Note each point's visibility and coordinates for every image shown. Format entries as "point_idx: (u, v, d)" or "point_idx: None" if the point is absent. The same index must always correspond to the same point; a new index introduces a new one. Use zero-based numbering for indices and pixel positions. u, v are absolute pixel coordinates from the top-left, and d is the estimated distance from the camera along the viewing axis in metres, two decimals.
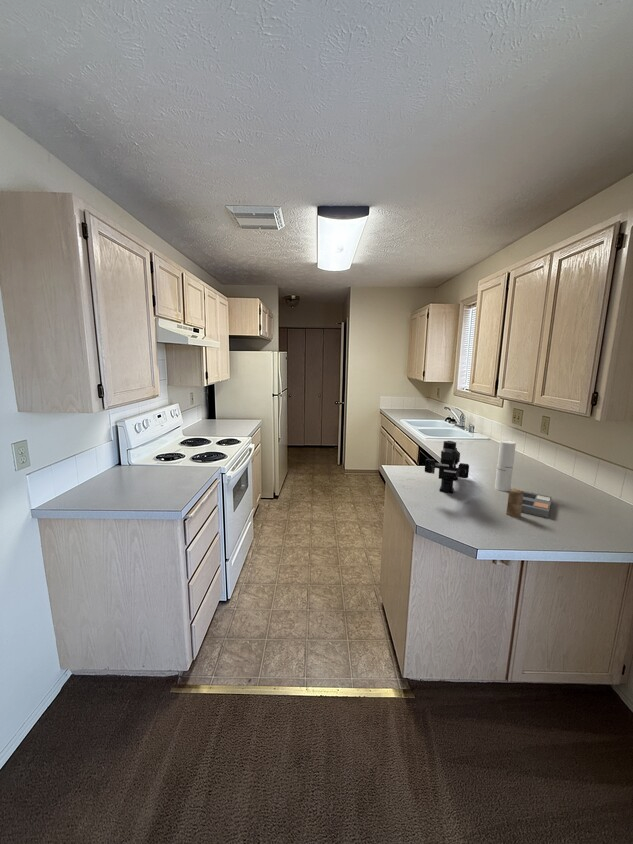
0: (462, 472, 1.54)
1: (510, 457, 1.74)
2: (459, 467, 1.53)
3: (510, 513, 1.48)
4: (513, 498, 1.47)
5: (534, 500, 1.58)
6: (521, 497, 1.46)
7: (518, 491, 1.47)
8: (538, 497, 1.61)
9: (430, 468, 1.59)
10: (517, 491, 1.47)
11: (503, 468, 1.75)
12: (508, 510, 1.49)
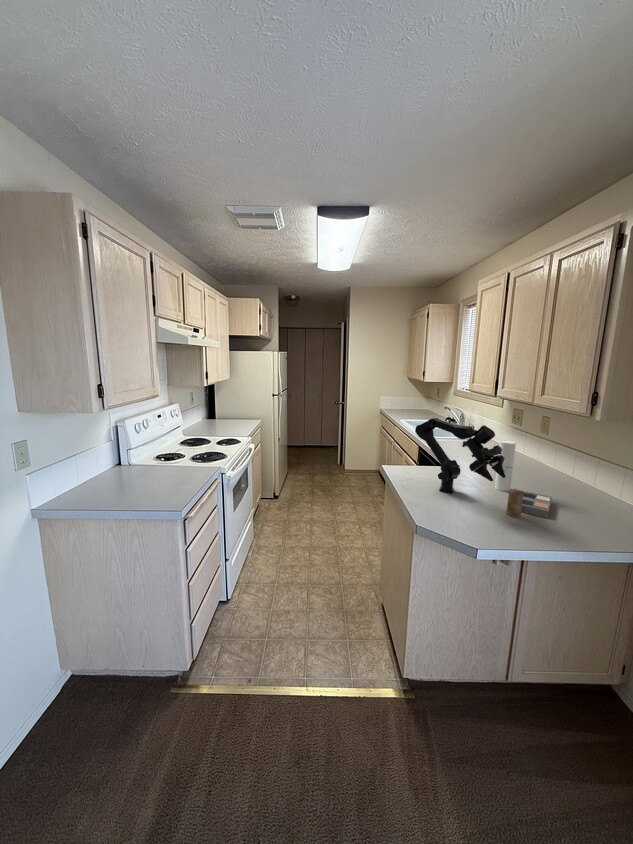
0: None
1: (510, 457, 1.74)
2: (501, 464, 1.57)
3: (510, 513, 1.48)
4: (513, 498, 1.47)
5: (534, 500, 1.58)
6: (521, 497, 1.46)
7: (518, 491, 1.47)
8: (538, 497, 1.61)
9: (479, 469, 1.53)
10: (517, 491, 1.47)
11: (503, 468, 1.75)
12: (508, 510, 1.49)
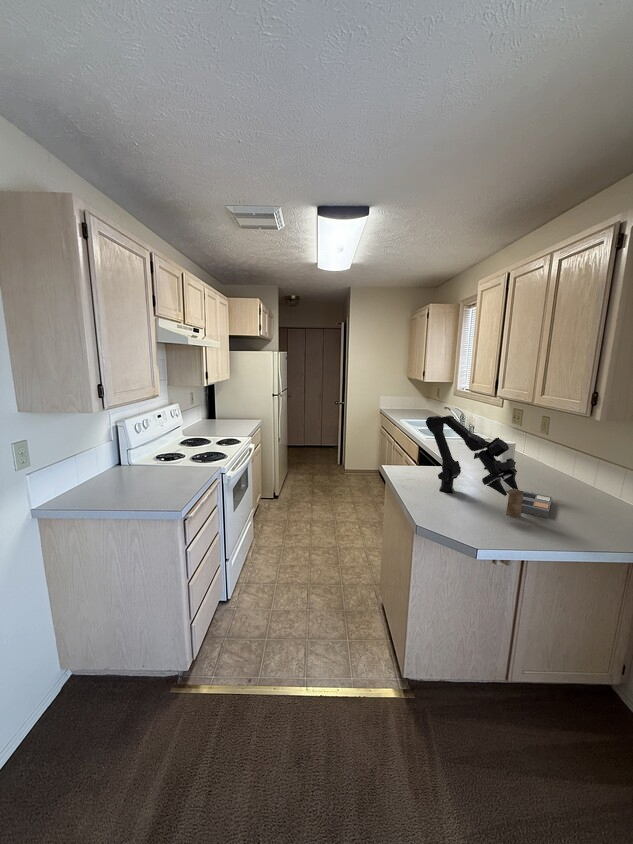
0: None
1: (510, 457, 1.74)
2: (513, 477, 1.53)
3: (510, 513, 1.48)
4: (513, 498, 1.47)
5: (534, 500, 1.58)
6: (521, 497, 1.46)
7: (518, 491, 1.47)
8: (538, 497, 1.61)
9: (492, 483, 1.49)
10: (517, 491, 1.47)
11: None
12: (508, 510, 1.49)
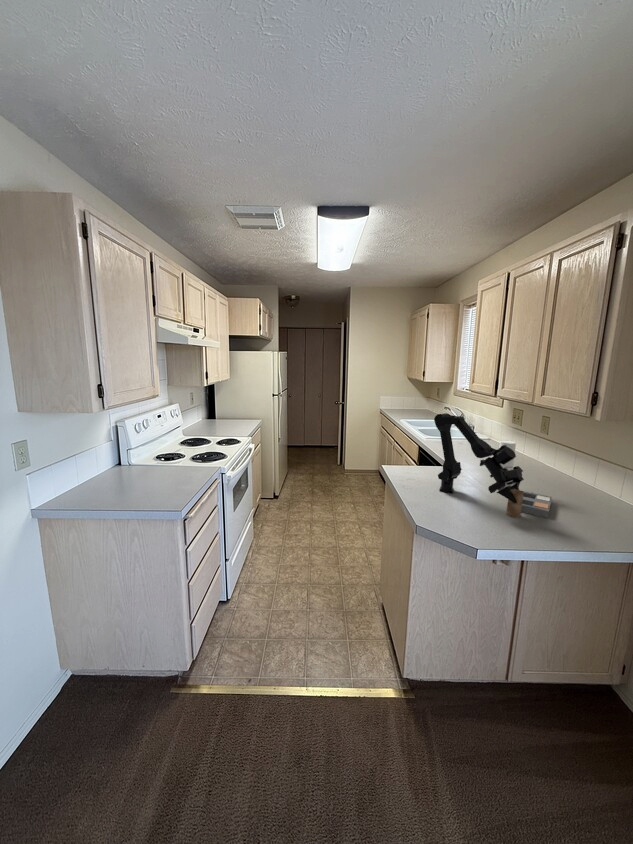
0: None
1: None
2: (517, 486, 1.50)
3: (510, 513, 1.48)
4: None
5: (534, 500, 1.58)
6: (521, 497, 1.46)
7: (518, 491, 1.47)
8: (538, 497, 1.61)
9: (502, 490, 1.48)
10: (517, 491, 1.47)
11: None
12: (508, 510, 1.49)
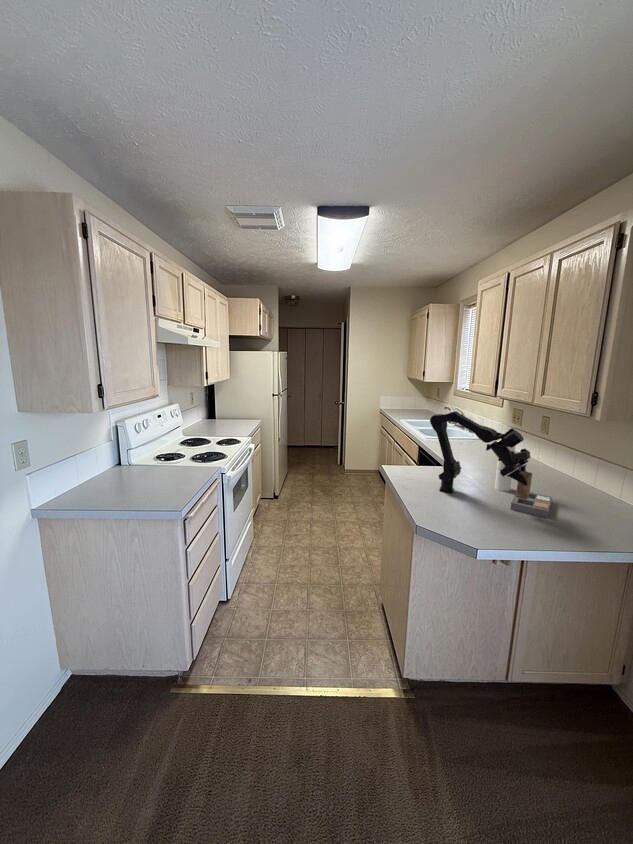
0: None
1: None
2: (524, 468, 1.52)
3: (520, 495, 1.50)
4: None
5: (534, 500, 1.58)
6: (530, 479, 1.49)
7: (527, 473, 1.49)
8: (538, 497, 1.61)
9: (513, 473, 1.49)
10: (526, 473, 1.49)
11: None
12: (518, 493, 1.50)
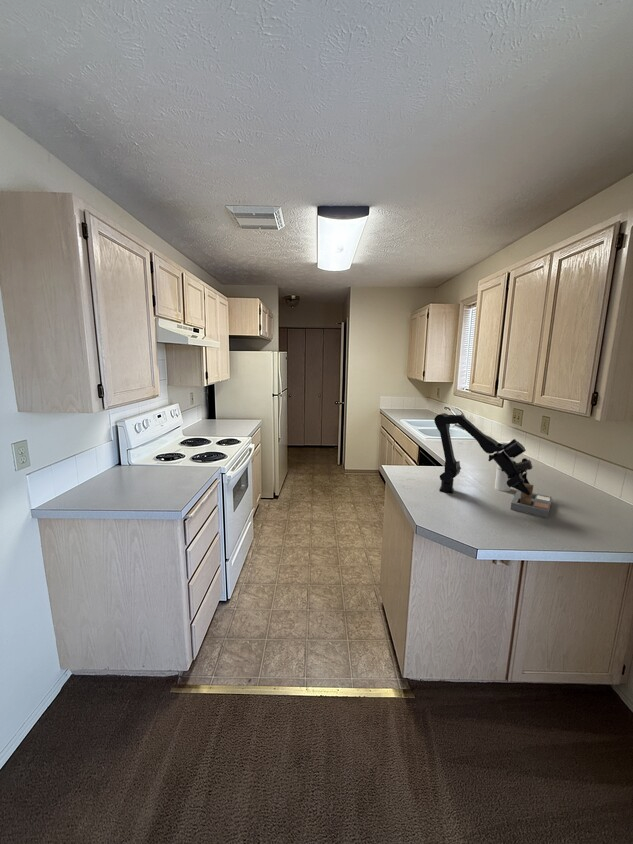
0: None
1: (510, 457, 1.74)
2: (526, 476, 1.58)
3: None
4: None
5: (534, 500, 1.58)
6: (532, 490, 1.54)
7: (529, 485, 1.54)
8: (538, 497, 1.61)
9: None
10: (529, 485, 1.54)
11: None
12: None
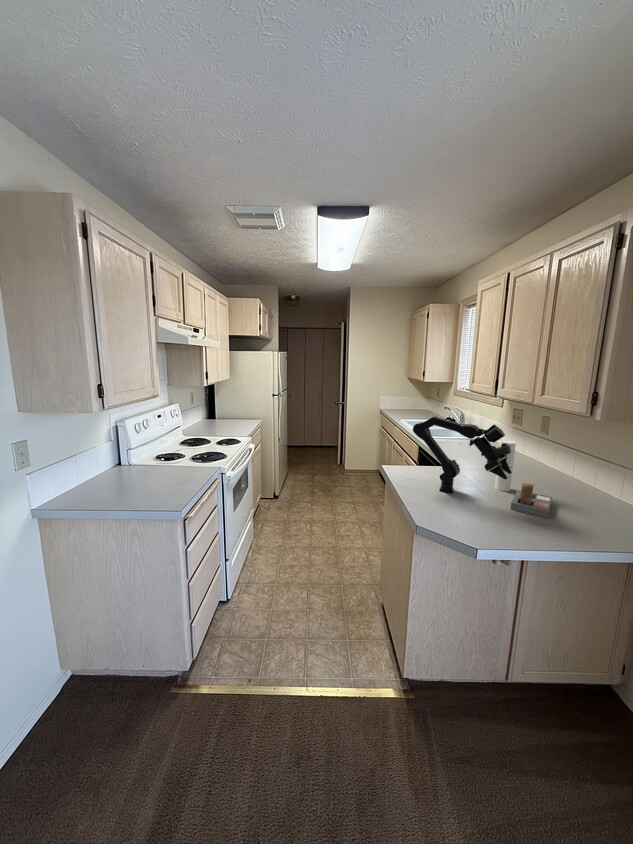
0: None
1: (510, 457, 1.74)
2: (506, 460, 1.63)
3: None
4: (526, 492, 1.53)
5: (534, 500, 1.58)
6: (532, 490, 1.54)
7: (529, 485, 1.54)
8: (538, 497, 1.61)
9: (494, 468, 1.55)
10: (529, 485, 1.54)
11: None
12: None
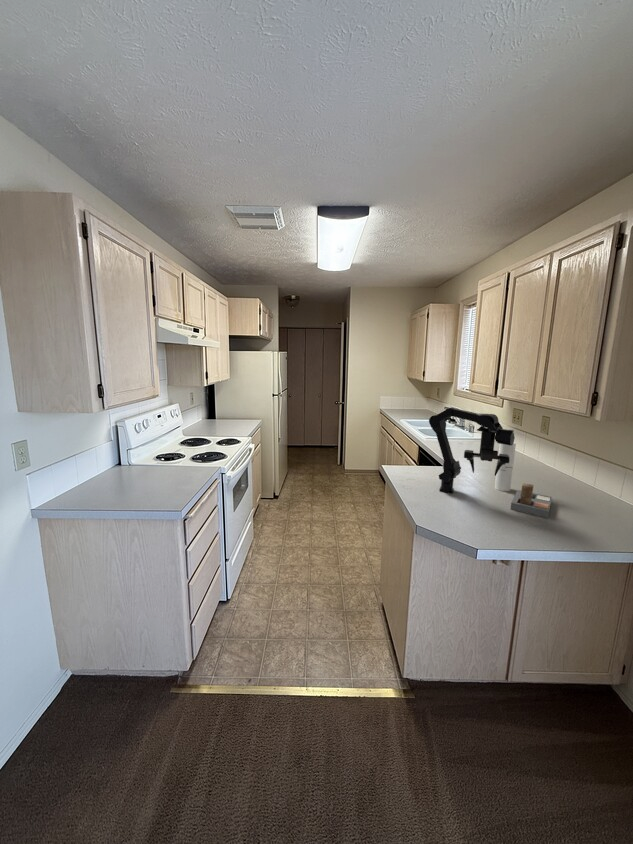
0: None
1: (510, 457, 1.74)
2: (498, 465, 1.57)
3: None
4: (526, 492, 1.53)
5: (534, 500, 1.58)
6: (532, 490, 1.54)
7: (529, 485, 1.54)
8: (538, 497, 1.61)
9: None
10: (529, 485, 1.54)
11: (503, 468, 1.75)
12: None
